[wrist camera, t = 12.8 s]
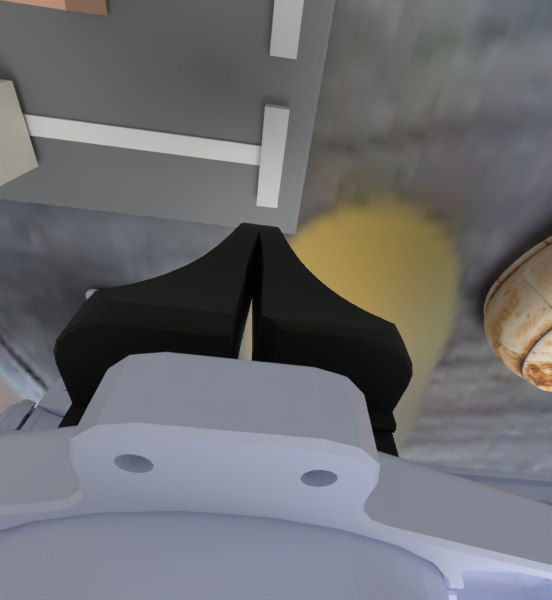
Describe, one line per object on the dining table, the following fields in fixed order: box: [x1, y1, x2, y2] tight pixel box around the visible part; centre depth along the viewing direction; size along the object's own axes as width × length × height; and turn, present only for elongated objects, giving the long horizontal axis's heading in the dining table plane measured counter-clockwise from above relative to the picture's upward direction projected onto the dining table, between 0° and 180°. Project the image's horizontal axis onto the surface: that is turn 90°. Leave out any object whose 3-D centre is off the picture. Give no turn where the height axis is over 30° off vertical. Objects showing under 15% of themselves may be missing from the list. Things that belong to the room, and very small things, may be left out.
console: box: [0, 0, 336, 234], centre depth 16 cm, size 16×20×2 cm
